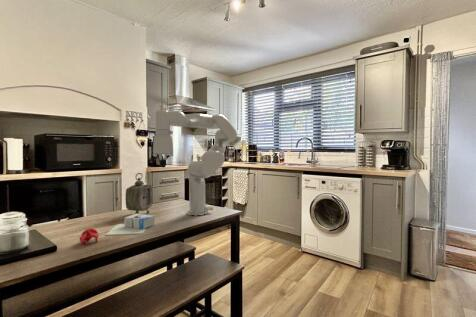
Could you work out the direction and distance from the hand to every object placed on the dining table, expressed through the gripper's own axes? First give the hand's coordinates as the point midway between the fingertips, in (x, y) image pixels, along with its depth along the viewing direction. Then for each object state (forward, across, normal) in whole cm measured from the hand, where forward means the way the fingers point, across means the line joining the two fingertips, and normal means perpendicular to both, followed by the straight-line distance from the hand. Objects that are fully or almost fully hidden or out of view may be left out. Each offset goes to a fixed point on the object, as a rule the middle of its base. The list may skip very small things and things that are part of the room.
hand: (163, 167), depth 139 cm
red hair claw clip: (+29, +26, +30) cm, 49 cm away
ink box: (+26, +5, +13) cm, 30 cm away
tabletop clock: (+29, +16, -13) cm, 36 cm away
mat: (+29, +14, +14) cm, 35 cm away
